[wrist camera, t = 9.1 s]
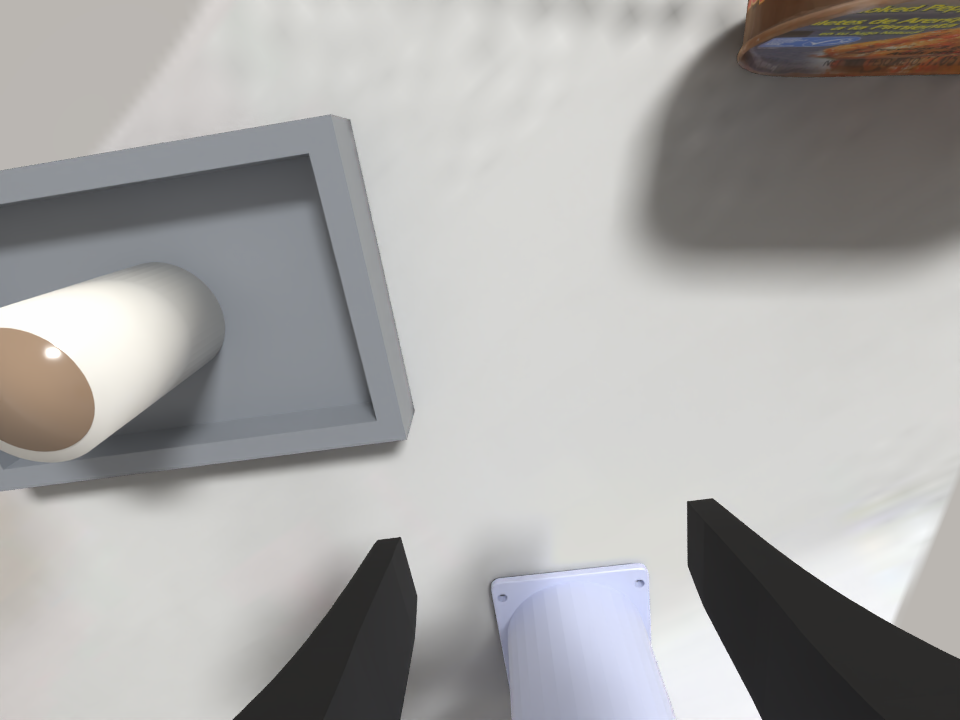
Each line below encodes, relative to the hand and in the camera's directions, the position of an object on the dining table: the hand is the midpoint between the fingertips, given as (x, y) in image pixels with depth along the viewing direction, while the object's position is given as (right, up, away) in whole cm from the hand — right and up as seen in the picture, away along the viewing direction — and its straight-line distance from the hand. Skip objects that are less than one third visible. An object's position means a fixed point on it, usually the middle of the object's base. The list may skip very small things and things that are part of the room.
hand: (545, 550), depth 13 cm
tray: (-14, +7, +9) cm, 18 cm away
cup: (-14, +6, +8) cm, 18 cm away
